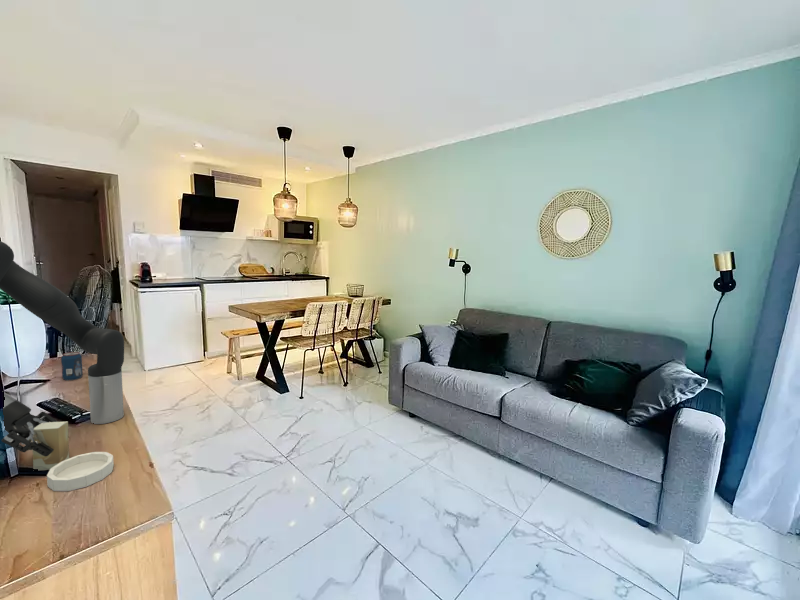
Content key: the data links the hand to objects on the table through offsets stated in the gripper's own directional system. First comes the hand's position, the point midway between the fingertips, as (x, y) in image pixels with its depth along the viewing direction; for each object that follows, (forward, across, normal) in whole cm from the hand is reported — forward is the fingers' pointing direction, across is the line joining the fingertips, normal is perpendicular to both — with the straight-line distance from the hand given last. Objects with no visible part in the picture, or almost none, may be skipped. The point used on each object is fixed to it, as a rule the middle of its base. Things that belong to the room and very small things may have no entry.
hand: (58, 446), depth 99 cm
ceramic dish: (+10, -7, -2) cm, 12 cm away
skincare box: (+3, 0, +5) cm, 6 cm away
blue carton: (-19, +79, +27) cm, 86 cm away
